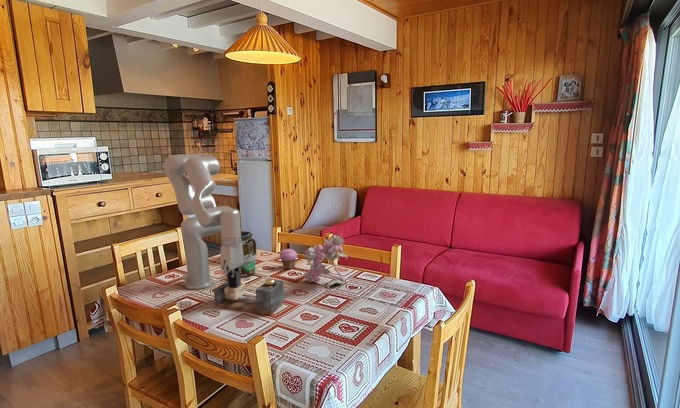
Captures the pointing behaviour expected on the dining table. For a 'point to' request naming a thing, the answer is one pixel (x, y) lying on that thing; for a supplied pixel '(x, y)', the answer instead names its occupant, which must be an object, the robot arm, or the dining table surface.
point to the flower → (317, 258)
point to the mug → (248, 242)
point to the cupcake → (288, 258)
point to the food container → (248, 265)
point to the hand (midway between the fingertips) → (234, 284)
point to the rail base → (245, 306)
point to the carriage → (235, 288)
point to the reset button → (269, 282)
